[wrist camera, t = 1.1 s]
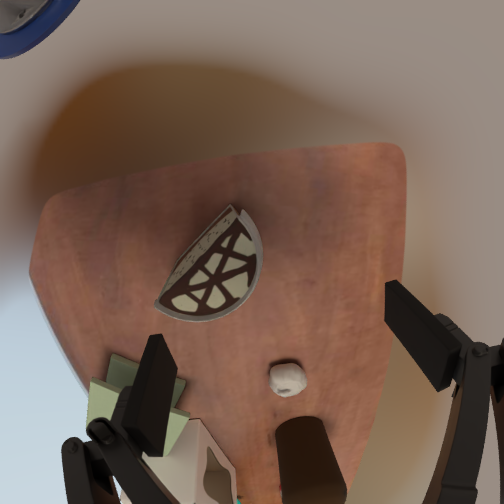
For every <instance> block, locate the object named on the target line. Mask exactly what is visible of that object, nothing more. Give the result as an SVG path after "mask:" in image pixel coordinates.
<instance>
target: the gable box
mask: <svg viewBox="0 0 504 504" xmlns="http://www.w3.org/2000/svg"><path fill="white" fill-rule="evenodd" d="M142 458H143V459H144V460H145V462H146V463H147V464H148V466H149V467H150V468H151V469H152V471H153V472H154V473H155V474H156V476H157V477H158V478H159V479H160V481H161V482H162V483H163V484H164V485H165V487H166V488H167V489H168V490H169V491H170V492H171V493H172V495H173V496H174V497H175V498H176V499H177V500H178V501H179V502H180V503H181V504H237V492H236V473H235V468H234V467H233V465H232V464H231V463H230V461H229V460H228V459H227V457H226V456H225V455H224V453H223V452H222V450H221V449H220V448H219V446H218V445H217V443H216V442H215V441H214V439H213V438H212V436H211V435H210V433H209V432H208V430H207V429H206V428H205V426H204V425H203V423H202V422H201V420H200V419H194V420H188V422H187V423H186V425H185V427H184V428H183V430H182V432H181V434H180V435H179V437H178V439H177V440H176V442H175V444H174V445H173V447H172V449H171V450H170V452H169V454H168V455H167V456H163V457H148V456H147V455H146V454H145V453H144V452H143V454H142ZM120 501H122V503H123V504H132V503H131V501H130V500H129V498H128V497H127V496H126V494H125V493H124V491H123V489H122V490H121V495H120Z"/></svg>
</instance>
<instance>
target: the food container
mask: <svg viewBox="0 0 504 504" xmlns="http://www.w3.org/2000/svg"><path fill="white" fill-rule="evenodd" d="M262 264H263V246H262V242H261V238H260V234H259V232H258V230H257V228H256V225H255V224H254V222H253V221H252V219H251V218H250V216H249V215H248V214H247V213H246V212H245V211H244V210H243V209H242V211H241V214H240V215H239V213H238V212H237V210H236V209H235V208H234V207H233V206H232V204H230V205H229V206H228V207H227V208H226V209H225V210H224V211H223V212H222V213H221V214H220V215H219V216H218V217H217V218H216V219H215V220H214V221H213V222H212V223H211V224H210V225H209V226H208V227H207V229H206V230H205V231H204V232H203V233H202V234H201V235H200V236H199V237H198V238H197V239H196V240H195V241H194V242H193V243H192V244H191V245H190V246H189V248H188V249H187V250H186V251H185V252H184V253H183V254H182V255H181V256H180V257H179V258H178V259H177V261H176V263H175V265H174V267H173V269H172V271H171V273H170V275H169V277H168V279H167V281H166V283H165V285H164V287H163V289H162V291H161V293H160V295H159V297H158V299H156V300H155V303H154V308H156V309H157V310H158V311H160V312H161V313H163V314H165V315H167V316H169V317H172V318H175V319H178V320H183V321H188V322H206V321H211V320H216V319H219V318H221V317H224V316H226V315H228V314H230V313H231V312H233V311H234V310H236V309H237V308H238V307H240V306H241V305H242V304H243V303H244V302H245V301H246V300H247V299H248V298H249V296H250V295H251V293H252V292H253V290H254V289H255V287H256V284H257V282H258V280H259V276H260V272H261V269H262Z"/></svg>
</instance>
